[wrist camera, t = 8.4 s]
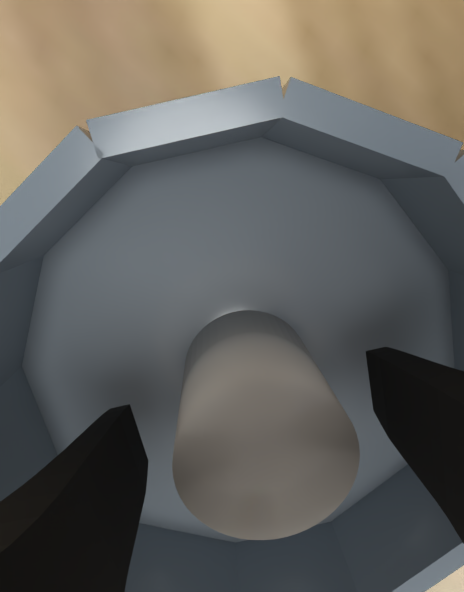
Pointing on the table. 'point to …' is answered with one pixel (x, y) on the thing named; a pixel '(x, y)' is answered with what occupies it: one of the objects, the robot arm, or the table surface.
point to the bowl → (236, 308)
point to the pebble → (260, 431)
